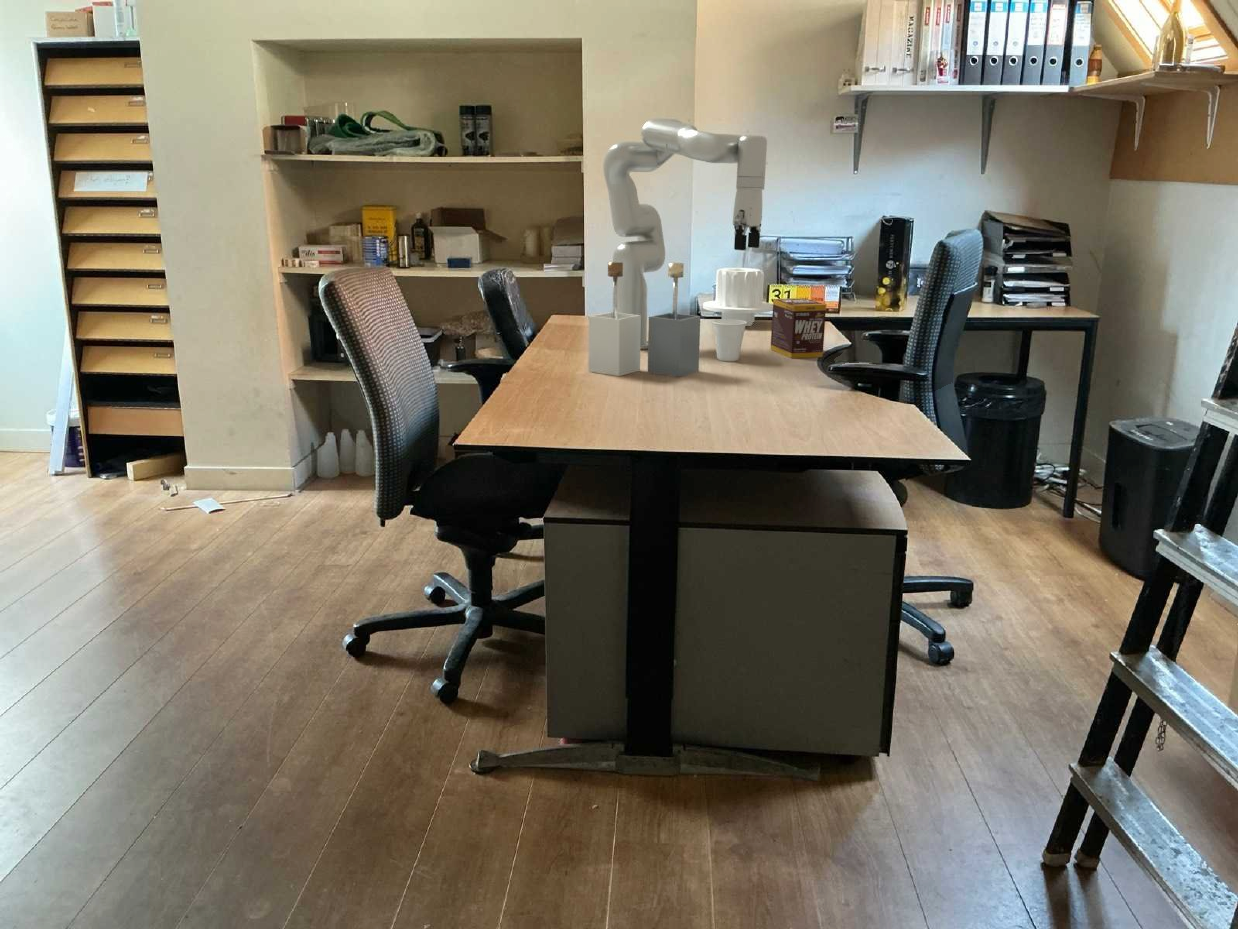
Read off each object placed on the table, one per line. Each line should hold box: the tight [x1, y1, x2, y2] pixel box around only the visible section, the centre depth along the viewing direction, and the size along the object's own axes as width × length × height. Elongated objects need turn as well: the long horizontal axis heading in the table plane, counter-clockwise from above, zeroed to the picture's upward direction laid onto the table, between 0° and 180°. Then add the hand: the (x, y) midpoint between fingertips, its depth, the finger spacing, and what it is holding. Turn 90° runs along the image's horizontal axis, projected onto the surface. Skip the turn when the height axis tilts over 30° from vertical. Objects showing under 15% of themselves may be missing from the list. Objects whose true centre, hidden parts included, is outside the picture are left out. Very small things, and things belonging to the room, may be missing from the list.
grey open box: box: [647, 312, 701, 378], centre depth 277 cm, size 10×10×15 cm
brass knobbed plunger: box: [667, 262, 685, 320], centre depth 274 cm, size 8×8×19 cm
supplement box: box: [770, 297, 827, 359], centre depth 307 cm, size 10×15×16 cm
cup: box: [711, 318, 747, 362], centre depth 296 cm, size 10×10×11 cm
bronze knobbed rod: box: [607, 261, 623, 319], centre depth 274 cm, size 8×8×19 cm
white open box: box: [588, 311, 641, 377], centre depth 278 cm, size 10×10×15 cm
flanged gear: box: [702, 267, 773, 327], centre depth 361 cm, size 25×25×19 cm
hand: (746, 248), depth 281 cm, fingers open, 9 cm apart
